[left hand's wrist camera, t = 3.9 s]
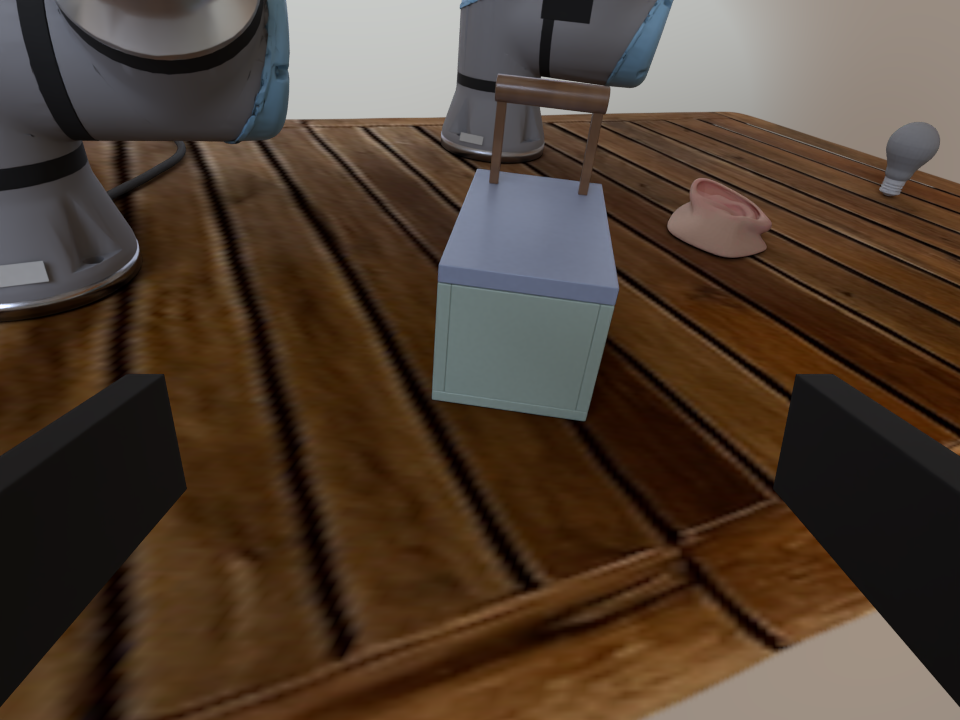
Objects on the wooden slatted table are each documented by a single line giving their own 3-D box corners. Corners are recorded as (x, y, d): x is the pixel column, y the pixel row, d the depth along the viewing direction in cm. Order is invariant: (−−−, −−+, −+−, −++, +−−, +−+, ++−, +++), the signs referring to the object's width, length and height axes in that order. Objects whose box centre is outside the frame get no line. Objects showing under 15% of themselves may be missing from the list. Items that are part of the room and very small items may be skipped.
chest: (466, 280, 52) (474, 186, 47) (579, 296, 52) (599, 201, 47) (431, 400, 38) (437, 283, 33) (585, 422, 38) (614, 306, 33)
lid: (475, 182, 48) (485, 65, 43) (598, 197, 48) (623, 81, 43) (437, 282, 33) (445, 122, 28) (614, 306, 33) (655, 147, 28)
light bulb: (869, 197, 83) (905, 123, 77) (861, 184, 88) (894, 114, 82) (916, 205, 82) (955, 131, 76) (905, 192, 87) (941, 121, 81)
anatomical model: (766, 230, 57) (655, 198, 62) (752, 267, 60) (646, 233, 65) (793, 198, 67) (695, 172, 72) (780, 231, 69) (685, 204, 74)
